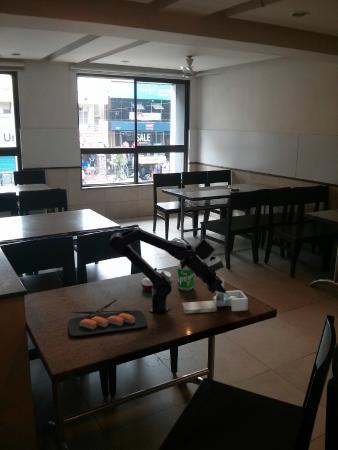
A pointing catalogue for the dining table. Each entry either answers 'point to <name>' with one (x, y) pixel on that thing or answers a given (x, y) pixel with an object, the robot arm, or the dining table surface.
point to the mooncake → (165, 273)
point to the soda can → (185, 278)
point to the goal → (238, 300)
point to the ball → (231, 299)
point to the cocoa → (147, 284)
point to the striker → (221, 297)
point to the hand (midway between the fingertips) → (223, 290)
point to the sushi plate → (106, 322)
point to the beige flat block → (199, 307)
